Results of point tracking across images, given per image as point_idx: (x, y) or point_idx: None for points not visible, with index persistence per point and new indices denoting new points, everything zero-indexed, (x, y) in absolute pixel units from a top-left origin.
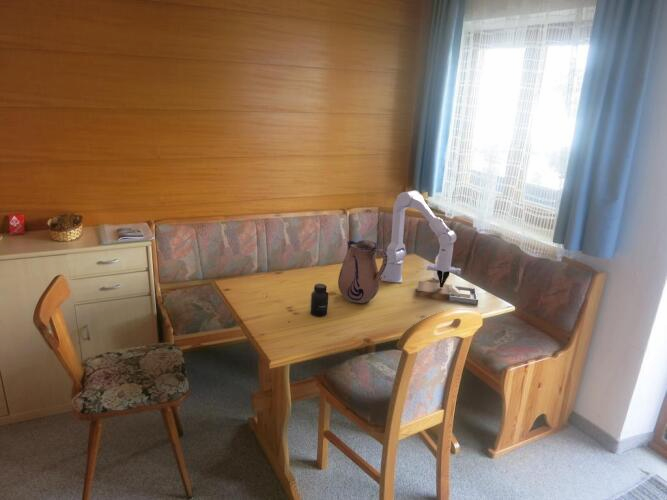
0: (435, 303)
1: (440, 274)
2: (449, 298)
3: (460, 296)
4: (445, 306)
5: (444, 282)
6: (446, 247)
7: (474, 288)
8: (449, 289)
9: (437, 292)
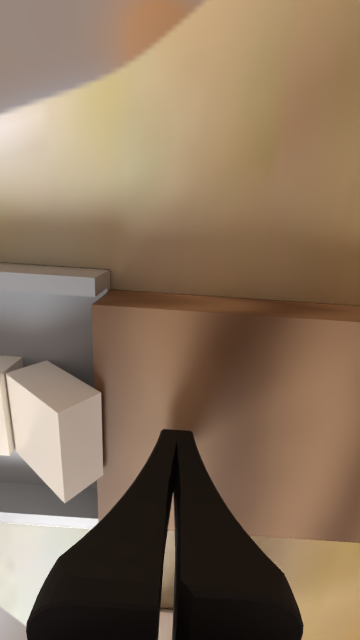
0: (237, 190)
1: (230, 586)
2: (101, 273)
3: (8, 362)
4: (145, 136)
5: (143, 469)
6: None
7: None
8: (94, 407)
9: (222, 325)
